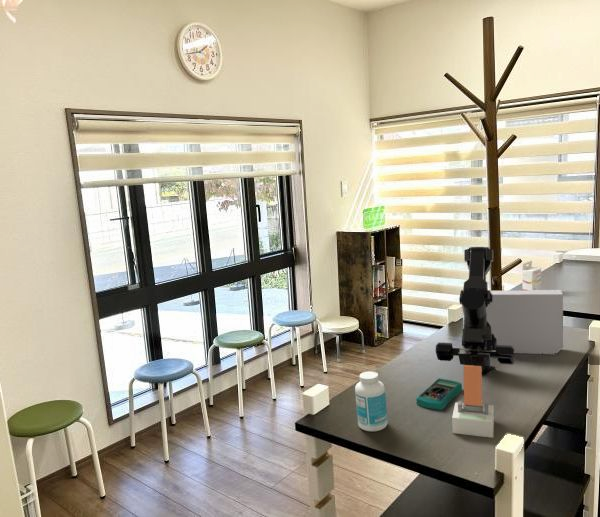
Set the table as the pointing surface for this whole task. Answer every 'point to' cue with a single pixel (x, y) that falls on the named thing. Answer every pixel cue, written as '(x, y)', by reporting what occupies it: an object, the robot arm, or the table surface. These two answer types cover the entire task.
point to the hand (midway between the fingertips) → (473, 385)
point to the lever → (472, 388)
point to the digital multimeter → (439, 394)
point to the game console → (527, 320)
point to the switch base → (473, 421)
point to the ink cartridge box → (531, 277)
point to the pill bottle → (371, 402)
